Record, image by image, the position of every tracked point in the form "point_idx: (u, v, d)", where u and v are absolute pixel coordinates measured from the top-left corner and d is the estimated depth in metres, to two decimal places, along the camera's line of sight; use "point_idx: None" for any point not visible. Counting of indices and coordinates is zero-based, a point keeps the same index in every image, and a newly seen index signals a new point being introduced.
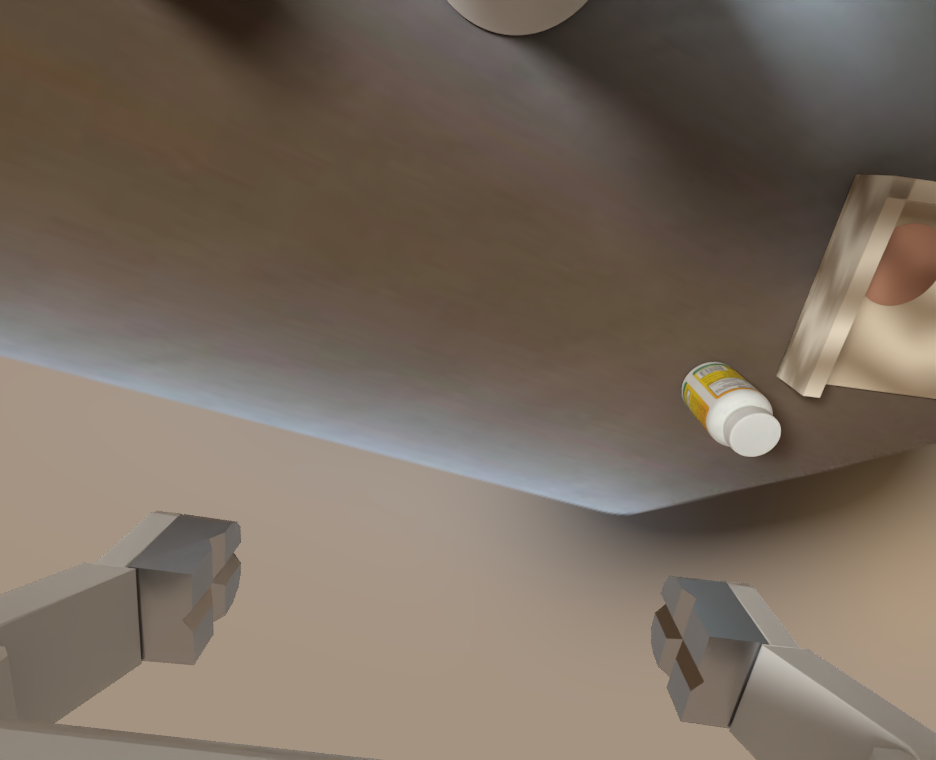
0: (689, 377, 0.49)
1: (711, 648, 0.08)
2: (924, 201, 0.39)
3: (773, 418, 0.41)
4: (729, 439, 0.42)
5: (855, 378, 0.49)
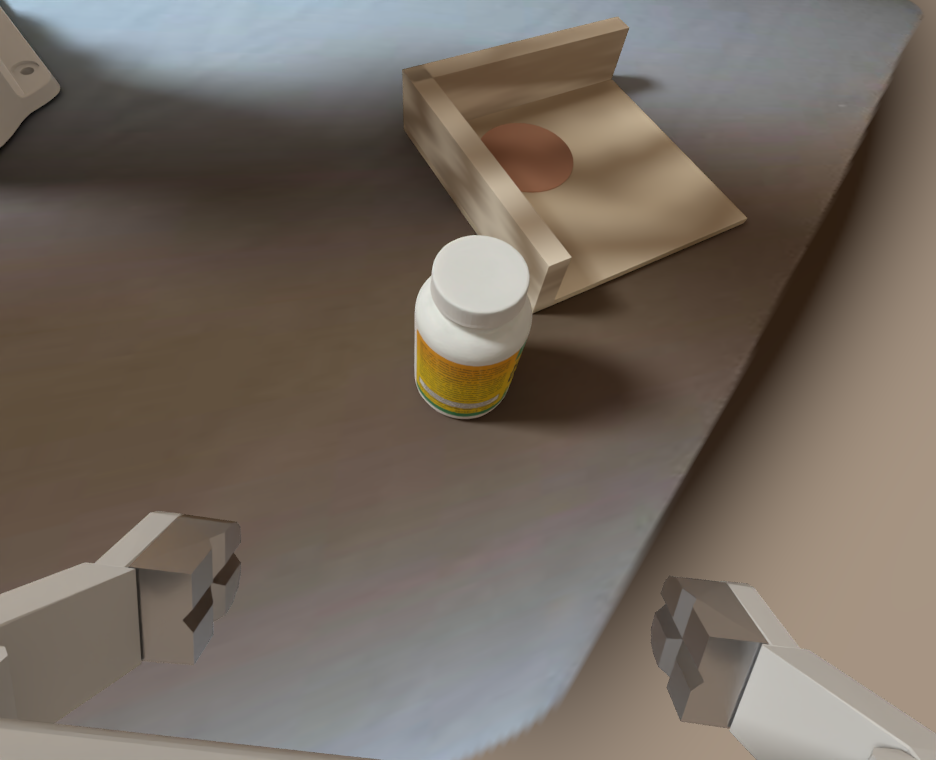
0: None
1: (711, 648, 0.08)
2: (450, 72, 0.35)
3: (479, 236, 0.22)
4: (448, 302, 0.20)
5: (616, 259, 0.34)
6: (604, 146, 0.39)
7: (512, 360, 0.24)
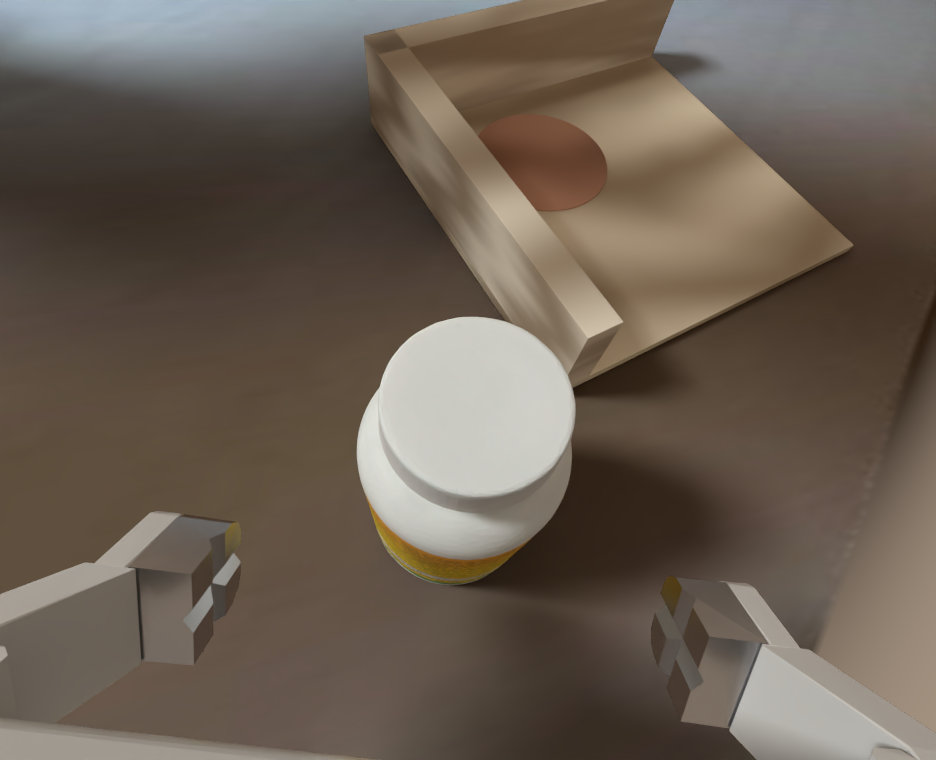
0: None
1: (711, 648, 0.08)
2: (433, 40, 0.24)
3: (474, 319, 0.11)
4: (410, 470, 0.10)
5: (676, 309, 0.23)
6: (648, 145, 0.28)
7: None
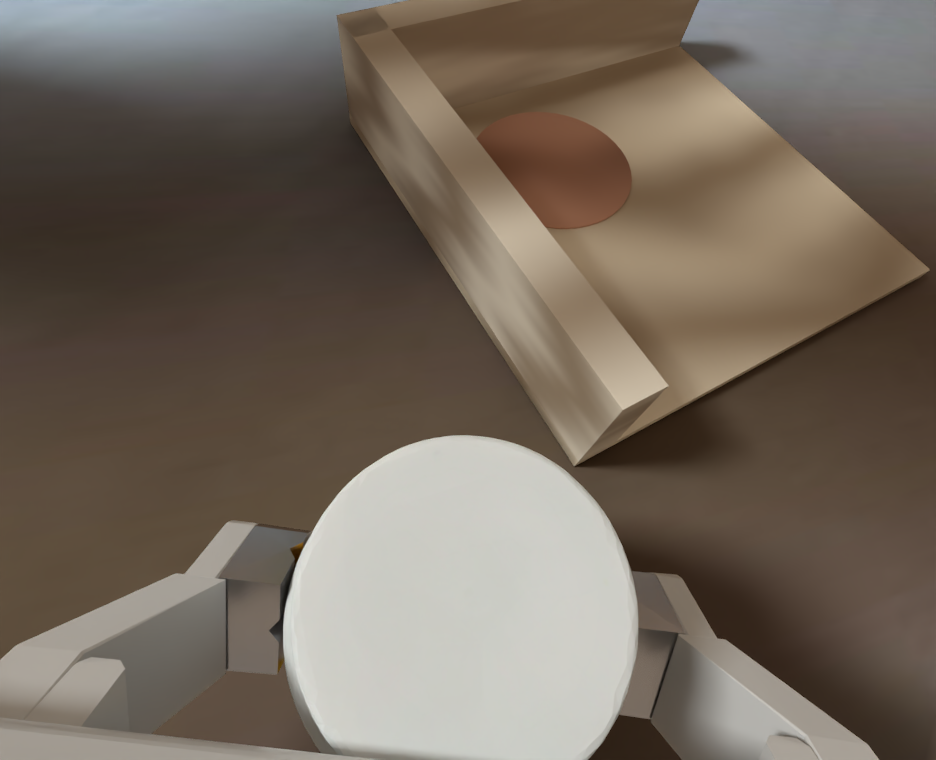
0: None
1: None
2: (422, 20, 0.20)
3: (463, 440, 0.07)
4: None
5: (721, 352, 0.19)
6: (679, 149, 0.24)
7: None
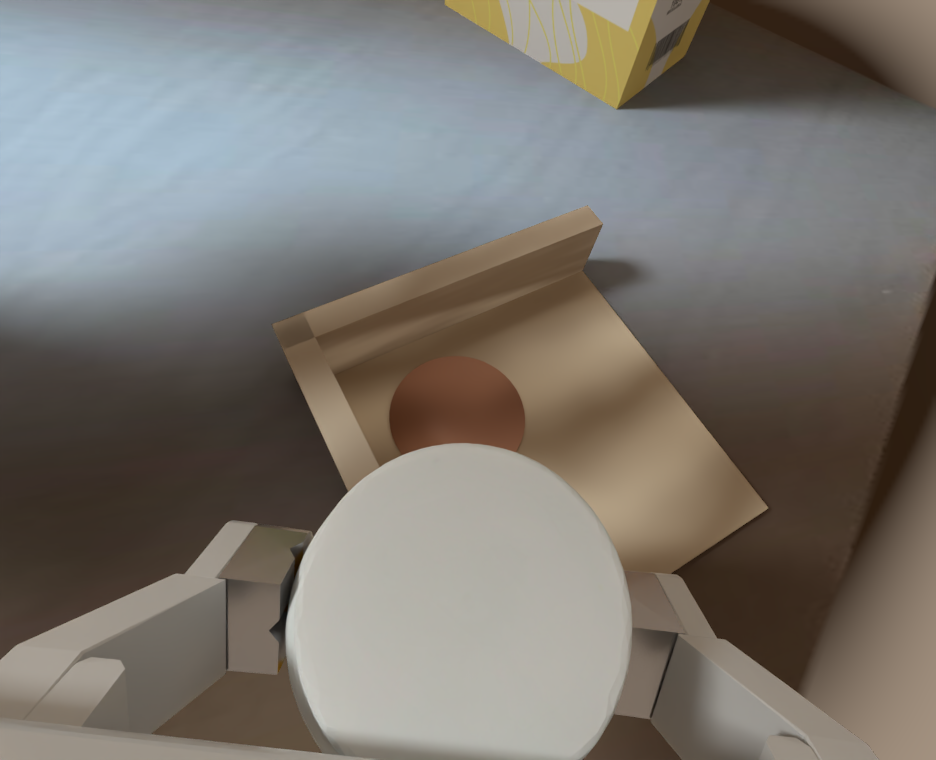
0: None
1: None
2: (341, 325, 0.24)
3: (462, 448, 0.07)
4: None
5: None
6: (569, 389, 0.28)
7: None
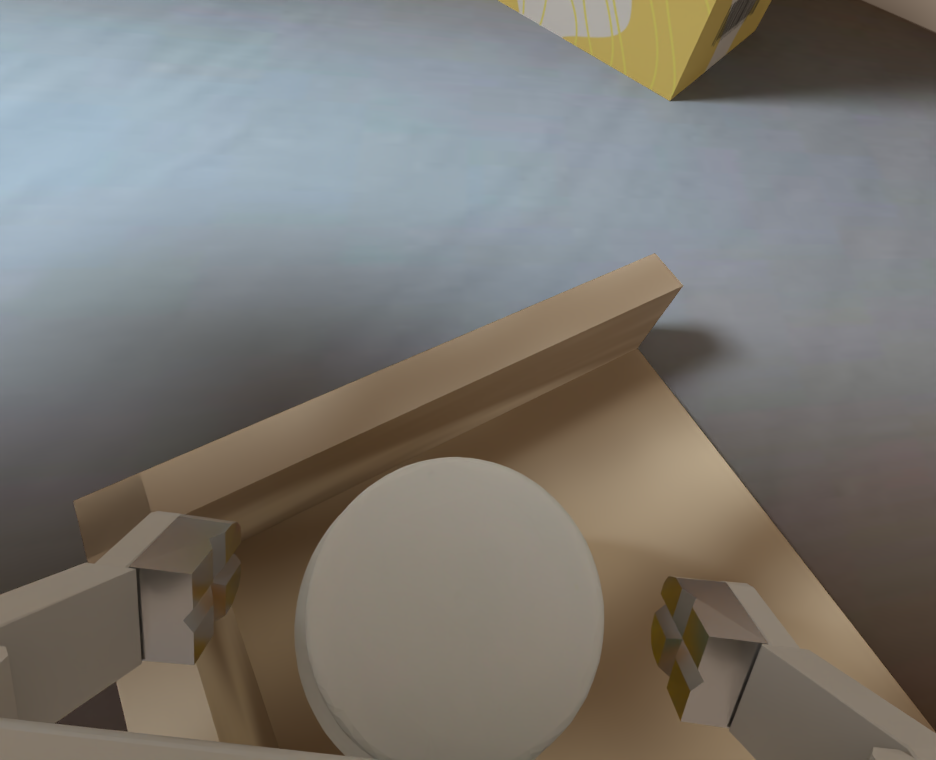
0: None
1: (711, 648, 0.08)
2: (212, 498, 0.13)
3: (454, 462, 0.08)
4: (347, 733, 0.06)
5: None
6: (628, 565, 0.17)
7: None
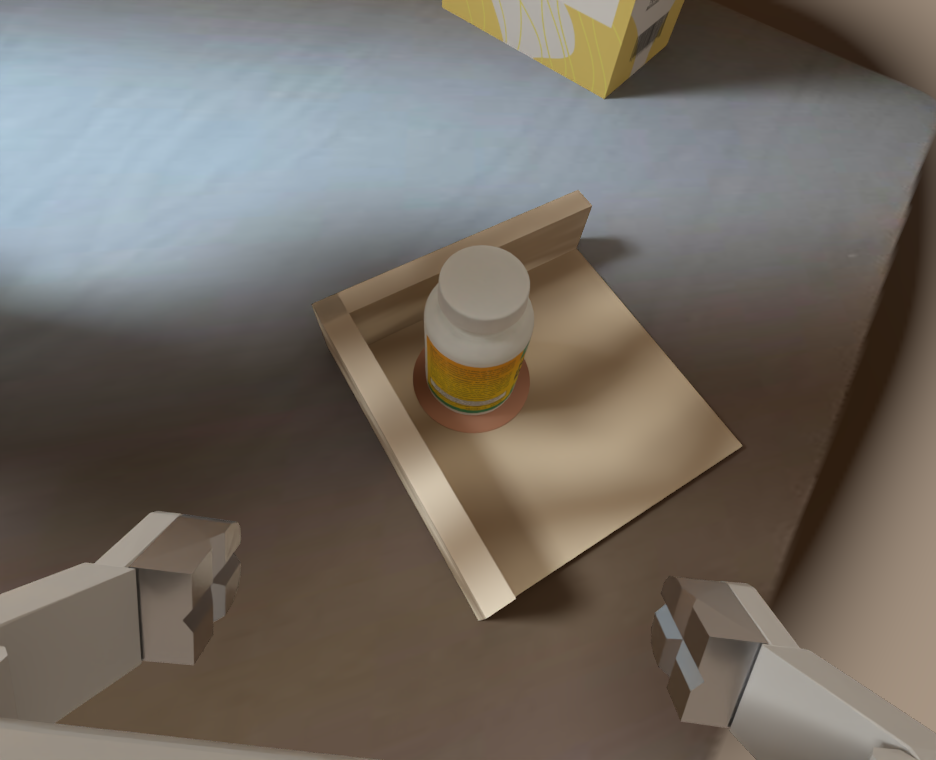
0: None
1: (711, 648, 0.08)
2: (370, 302, 0.28)
3: (481, 246, 0.23)
4: (455, 310, 0.22)
5: (582, 528, 0.28)
6: (567, 352, 0.32)
7: (517, 360, 0.25)
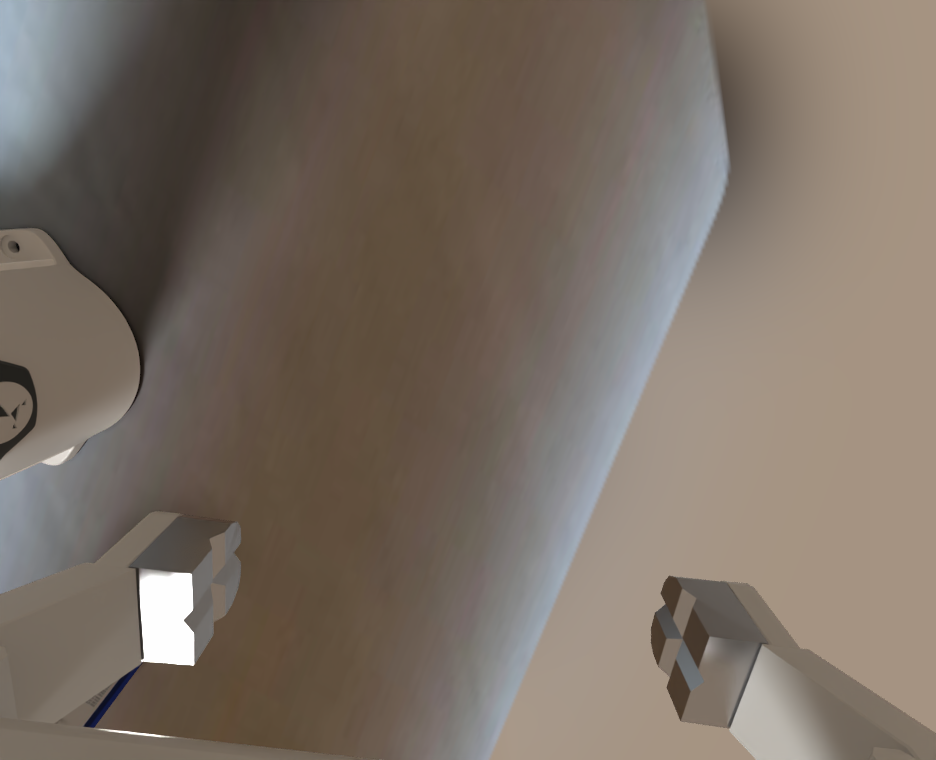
0: None
1: (711, 648, 0.08)
2: None
3: None
4: None
5: None
6: None
7: None
